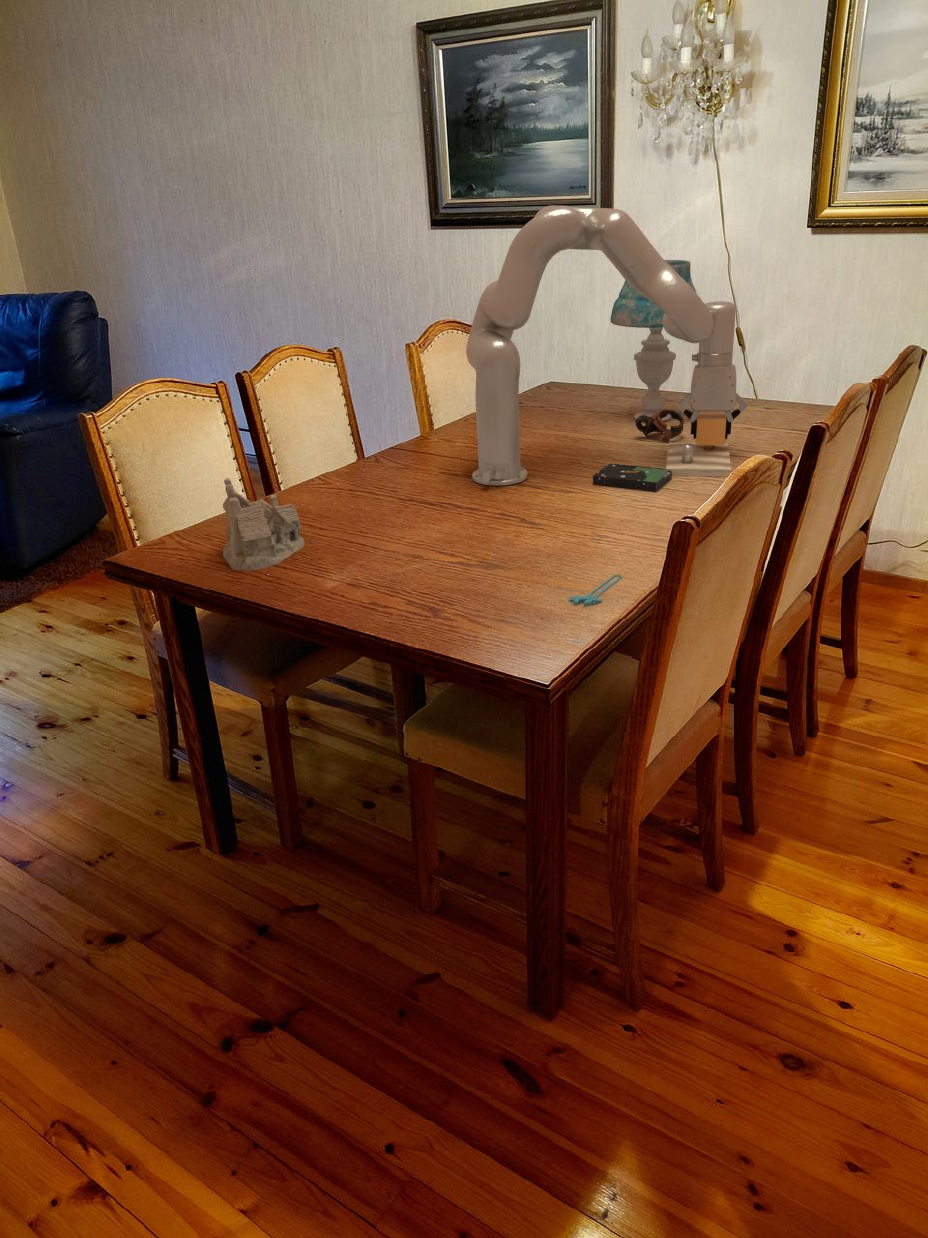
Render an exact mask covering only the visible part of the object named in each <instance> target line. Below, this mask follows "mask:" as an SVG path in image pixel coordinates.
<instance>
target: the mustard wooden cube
mask: <svg viewBox="0 0 928 1238" xmlns="http://www.w3.org/2000/svg"><path fill="white" fill-rule="evenodd" d="M725 430H726V414H725V412H699V414H698V416H697V433H696V439H695V443H696V445H724V444H725V443H726V442H725V440H726V439H725Z"/></svg>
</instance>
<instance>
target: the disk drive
mask: <svg viewBox="0 0 928 1238" xmlns="http://www.w3.org/2000/svg"><path fill="white" fill-rule="evenodd" d="M672 478H673V476H672V472H671V470H666V469H665V468H660V467H649V466H640V465H629V464H620V463H608V464H607V465H606V466H604V467H602V468H601V469H599V472H595V473H594V474H593V475H592V486H598V487H606V488H607V487H608V488H613V489H614V488H615V489H623V488H624V489H625V490H634V491H642V492H651V493H657V492H659V491H660V490H661V489H662V488H664V487H665V486H666V485H667V484H668V483H669V482H670V481H671V480H673V479H672ZM624 489H623V490H624Z"/></svg>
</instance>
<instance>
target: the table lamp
mask: <svg viewBox="0 0 928 1238" xmlns="http://www.w3.org/2000/svg"><path fill="white" fill-rule="evenodd" d="M664 260H665V262H667V263H668V264H669V265H670V266H671V267H672V268H673V269H674V270H675V271H676V273H677V274H678V275H679V276H680V277H682V278H683V279H684V280H685V281H686V282H687V283H688V284H689V285H690V287H691V288H692V289H693V290H694V291H695V292H696V293H697V290H696V287H695V285H694V283H693V280H692V276H691V264H692V263H691V261H689V260H684V259H683V260H681V259H664ZM663 316H664V312H663V311H662V310H661V309H660V308H659V307H658V306H656V305H655V304H654V303H653V302H651V301H650V300H648V299H646V298H645V297H643V296H641V295H640V294H639V293H637V292H636V291H635V290H634V289H633V288H632V287H631V286H630V285H629V284H628V283H627V281H626V280H625V279H624V281H623V285H622V287H621V289H620V291H619V292H618V297H617V298H616V299H615V301H614V303H613V306H612V311H611V313H610V323H611V324H613V325H615V326H618V327H626V328H637V329H638V328H641V329H642V328H643V329H649V332H650V333H649V334H648V337H647V338H646V339H643V340H641V342H640V345H641V346H642V348H641V349H640V351H638V352H635V353H634V355H633V359H634V361H635V363H636V372H637V376H638V379H639V380H640V381H641V383H643V384H645V386H646V387H647V390H648V391H646V392H645V396H643V397H642V398H641V401H640V402H641V405H640V406H641V409H643V411H639V412H637V413H635V415H634V416H633V417H634V419H635V420H636V419H637V418H638V417H639V416H641V415H646V416H648V417H651V416H652V415H654V414H655V413H657V412H658V411H659V410H661V409H665V406H666V398H665V397H664V396H662V392H661V391H660V388H661V386H662V385H663V384H664V383H666V382H667V381H668V379H669V378H670V377H671V375H672V372H673V366H674V361H675V360H676V357H677V355H676V352H674V351H671V350H670V348H669V347H668V346H669V345H670V344H671V341H670V340H669V339H668V338H667V339H666V338H665V337H664V335H663V334H662V331H663V330H664V327H663ZM670 419H672V416H671V415H670V414H668V415H667V416H666V417H664V418H662V419H661V420H662V421H663V422H666V421H669V420H670Z"/></svg>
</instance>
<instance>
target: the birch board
mask: <svg viewBox="0 0 928 1238" xmlns="http://www.w3.org/2000/svg"><path fill="white" fill-rule="evenodd" d="M683 444H693V445H694V446H693V462H692V463H690V464H684V463H682V447H683ZM665 470H671V472H672V477H673V476H674V477H675V476H676V477H679V476H680V477H682V476H683V477H724V478H725V477H727V476H728V475H729V474H730V473H731V474H732V465H731V455H730V448H729V443H727V442H725V444H724V445H715V449H714V450H712V451H707V450H704V445H696V442H668V446H667V456H666V469H665Z"/></svg>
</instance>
